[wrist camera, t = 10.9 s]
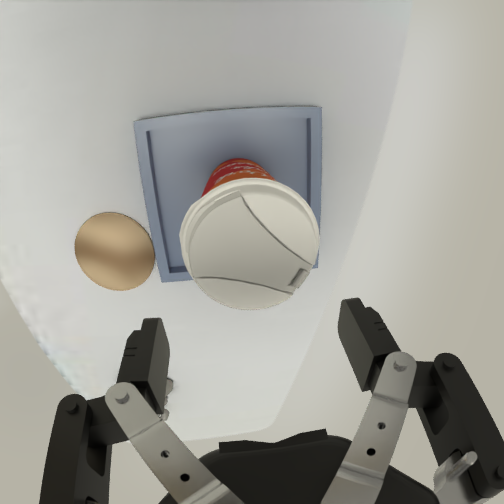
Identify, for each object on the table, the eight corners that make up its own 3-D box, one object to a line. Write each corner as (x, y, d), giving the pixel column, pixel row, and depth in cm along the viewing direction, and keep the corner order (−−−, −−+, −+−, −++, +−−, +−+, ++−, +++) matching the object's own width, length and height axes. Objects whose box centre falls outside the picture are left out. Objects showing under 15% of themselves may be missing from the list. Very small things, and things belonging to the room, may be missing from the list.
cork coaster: (67, 218, 29) (65, 220, 29) (146, 207, 30) (145, 209, 29) (89, 290, 33) (88, 292, 33) (162, 285, 34) (161, 287, 34)
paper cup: (295, 172, 29) (353, 229, 16) (253, 239, 31) (276, 334, 19) (220, 130, 26) (220, 153, 14) (180, 203, 29) (153, 283, 17)
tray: (138, 119, 26) (133, 121, 24) (315, 106, 27) (321, 107, 25) (164, 273, 33) (161, 282, 32) (313, 259, 34) (317, 267, 33)
